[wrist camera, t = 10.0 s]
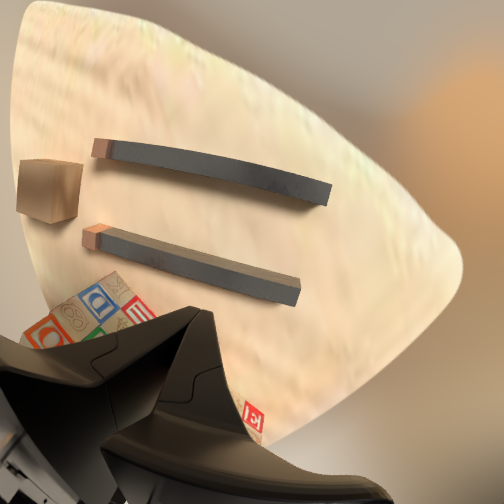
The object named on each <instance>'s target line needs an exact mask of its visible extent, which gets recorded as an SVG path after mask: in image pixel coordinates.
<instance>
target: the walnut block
mask: <svg viewBox="0 0 504 504" xmlns="http://www.w3.org/2000/svg"><path fill="white" fill-rule="evenodd" d="M82 171H83V164H78V163H72V162H65V161H58V160H51V159H33V160H20V166H19V176H18V188H17V210H16V211H17V212H19V213H22V214H25V215H27V216H30V217H32V218H35V219H38V220H40V221H43V222H46V223H49V224H52V223H56V222H59V221H63V220H66V219H70V218H73V217H77V215H78V203H79V194H80V185H81V178H82Z"/></svg>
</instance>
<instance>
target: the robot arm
mask: <svg viewBox="0 0 504 504" xmlns="http://www.w3.org/2000/svg"><path fill="white" fill-rule="evenodd" d="M126 500H127V502H128V504H394V502H393V499H392V498H391V496H390V495H389V494H388V493H387V491H386V490H384V489H383V488H382V487H381V486H379V485H378V484H376V483H374V482H372V481H371V480H369V479H367V478H365V477H361V476H354V475H322V474H317V473H312V472H308V471H305V470H302V469H300V468H298V467H296V466H294V465H292V464H290V463H289V462H287V461H285V460H283V459H282V458H280V457H278V456H277V455H275V454H273V453H272V452H270V451H268V450H266V449H265V448H264V447H262V446H260V445H259V444H257V443H256V442H255V441H254V440H253V438H252V437H251V435H250V434H249V432H248V430H247V428H246V426H245V424H244V422H243V420H242V418H241V416H240V413H239V411H238V409H237V407H236V405H235V402H234V400H233V398H232V395H231V393H230V390H229V387H228V384H227V380H226V377H225V372H224V368H223V363H222V358H221V353H220V348H219V342H218V337H217V332H216V326H215V321H214V315H213V312H211V311H207V310H204V309H202V310H200V309H199V308H196V307H193V306H187V307H185V308H182V309H179V310H176V311H173V312H171V313H168V314H165V315H162V316H159V317H156V318H153V319H151V320H148V321H145V322H142V323H139V324H136V325H133V326H130V327H127V328H124V329H121V330H118V331H117V332H112V333H109V334H106V335H103V336H99V337H96V338H92V339H88V340H84V341H80V342H75V343H71V344H66V345H61V346H56V347H51V348H45V349H33V348H28V347H25V346H23V345H20V344H18V343H16V342H14V341H12V340H10V339H7V338H6V337H4V336H1V335H0V504H124V503H125V502H126Z"/></svg>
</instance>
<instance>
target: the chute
mask: <svg viewBox="0 0 504 504" xmlns="http://www.w3.org/2000/svg"><path fill="white" fill-rule="evenodd" d="M91 157H98V158H105V159H115V160H121V161H128V162H134V163H140V164H146V165H152V166H158V167H163V168H169V169H174V170H179V171H184V172H189V173H194V174H199V175H204V176H209V177H213V178H218V179H222V180H227V181H231V182H235V183H240V184H244V185H248V186H252V187H256V188H260V189H264V190H268V191H272V192H276V193H280V194H284V195H287V196H291V197H295V198H299V199H302V200H306V201H309V202H313V203H316V204H320V205H323V206H327V202H328V199H329V195H330V191H331V188H332V184H329V183H325V182H322V181H318V180H315V179H312V178H308V177H304V176H301V175H297V174H294V173H290V172H286V171H282V170H278V169H274V168H270V167H266V166H262V165H258V164H254V163H249V162H245V161H240V160H236V159H231V158H226V157H221V156H217V155H211V154H206V153H201V152H195V151H190V150H184V149H178V148H172V147H165V146H158V145H151V144H144V143H136V142H128V141H118V140H110V139H99V138H95V139H94V144H93V149H92V155H91ZM82 246H83V247H86V248H89V249H91V250H94V251H95V250H97V249H99V250H102V251H105V252H108V253H111V254H114V255H117V256H120V257H123V258H126V259H129V260H132V261H135V262H138V263H141V264H145V265H148V266H151V267H154V268H157V269H160V270H164V271H167V272H170V273H173V274H177V275H180V276H183V277H187V278H190V279H193V280H197V281H200V282H204V283H207V284H211V285H214V286H218V287H221V288H225V289H228V290H232V291H235V292H239V293H243V294H246V295H250V296H254V297H258V298H261V299H265V300H269V301H273V302H277V303H281V304H285V305H289V306H293V307H295V305H296V303H297V300H298V297H299V294H300V291H301V284H300V279H299V278H295V277H291V276H288V275H284V274H280V273H276V272H272V271H269V270H265V269H261V268H257V267H254V266H250V265H246V264H242V263H239V262H235V261H231V260H227V259H224V258H220V257H216V256H213V255H209V254H205V253H202V252H198V251H195V250H191V249H187V248H184V247H180V246H177V245H173V244H169V243H166V242H162V241H159V240H155V239H152V238H148V237H145V236H141V235H138V234H134V233H131V232H127V231H124V230H120V229H117V228H113V227H110V226H106V225H103V224H97V225H94V226H91V227H88V228H85V229H83V237H82Z"/></svg>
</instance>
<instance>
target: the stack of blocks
mask: <svg viewBox="0 0 504 504" xmlns="http://www.w3.org/2000/svg"><path fill="white" fill-rule="evenodd" d="M153 318H156V316H155V315H154V314H153V313H152V312H151V311H150V310H149V309H148V308H147V306H146V305H145V304H144V303H143V302H142V301H141V300H140V299H139V298H138V296H137V295H136V294H135V293H134V292H133V290H132V289H131V288H130V287H129V286H128V285H127V283H126V282H125V281H124V280H123V279H122V278H121V276H120V275H119V274H118V273H117V272H116V271H115V272H113V273H111V274H110V275H108V276H107V277H105V278H103V279H102V280H100V281H99V282H97V283H96V284H94V285H92V286H91V287H89V288H87V289H86V290H84V291H82V292H81V293H79V294H77V295H76V296H73V297H71V298H70V299H68V300H67V301H65V302H64V303H62V304H60V305H59V306H57V307H56V308H55V309H53V310H52V311H50V313H49V315H48V316H46V317H45V318H43V319H42V320H40V321H39V322H37V323H36V324H35V325H33V326H32V327H30V328H29V329H27V330H26V331H25V332H23V334H22V336H21V339H20V342H19V344H20V345H23V346H25V347H28V348H33V349H45V348H51V347H56V346H61V345H66V344H71V343H75V342H80V341H84V340H88V339H92V338H96V337H99V336H103V335H106V334H109V333H112V332H117V331H118V330H121V329H124V328H127V327H130V326H133V325H136V324H139V323H142V322H145V321H148V320H151V319H153ZM228 387H229V390H230V393H231V395H232V398H233V400H234V402H235V405H236V407H237V409H238V411H239V413H240V416H241V418H242V420H243V422H244V424H245V426H246V428H247V430H248V432H249V434H250V435H251V437H252V438H253V440H254V441H255V442H256V443H257V444H259V445H260V446H261V440H262V429H263V422H264V414H263V413H262V412H260V411H259V410H258V409H256V408H255V407H254V406H252V405H251V404H250V403H248V402H247V401H245V399H244V398H243V397H242V396H241V395H240V394H238V393H237V392H236V391H235V390H234V389H232V388H231V387H230V386H229V385H228Z"/></svg>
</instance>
